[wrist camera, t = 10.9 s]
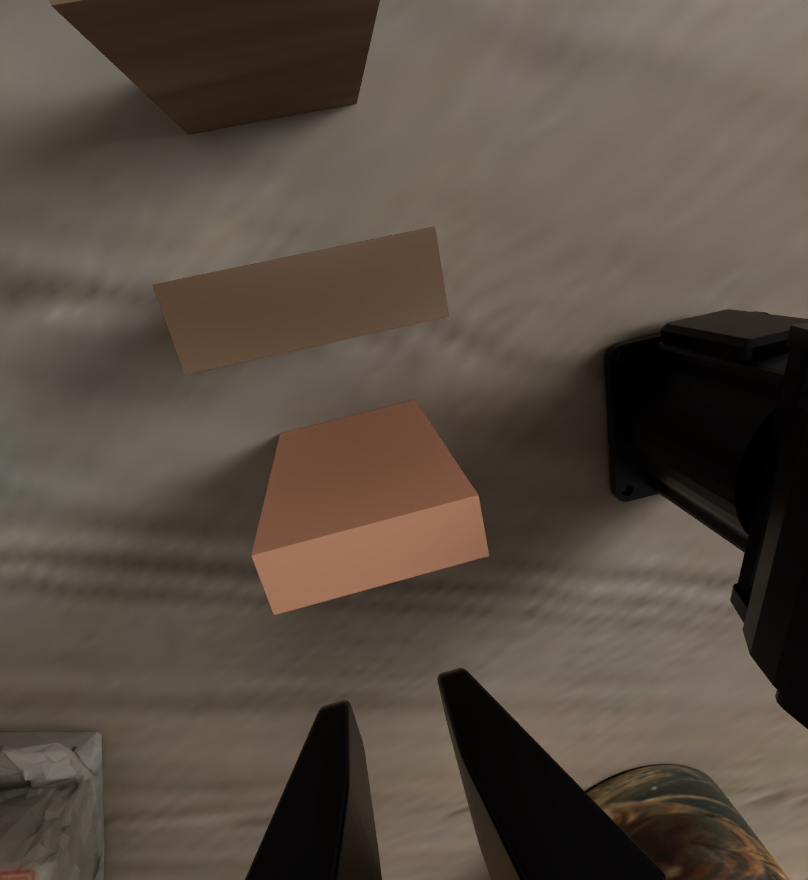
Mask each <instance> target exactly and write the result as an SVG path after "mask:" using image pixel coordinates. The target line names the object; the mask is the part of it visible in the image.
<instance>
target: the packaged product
mask: <svg viewBox="0 0 808 880" xmlns="http://www.w3.org/2000/svg"><path fill="white" fill-rule="evenodd" d="M102 798H103V765H102V735H101V734H100V733H98V732H94V731H41V732H4V731H0V880H104V849H105V837H104V811H103V801H102Z"/></svg>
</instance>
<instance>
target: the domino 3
mask: <svg viewBox="0 0 808 880" xmlns="http://www.w3.org/2000/svg"><path fill="white" fill-rule="evenodd" d="M251 556H252V559H253V561H254V564H255V567H256V569H257V572H258V575H259V577H260V580H261V582H262V585H263V588H264V590H265V593H266V596H267V598H268V601H269V603H270V606H271V609H272V611H273V614H274V615H277V614H280V613H284V612H288V611H291V610H295V609H299V608H302V607H306V606H310V605H313V604H317V603H320V602H324V601H328V600H331V599H335V598H339V597H342V596H346V595H349V594H353V593H357V592H360V591H364V590H368V589H371V588H375V587H378V586H382V585H386V584H389V583H393V582H397V581H400V580H404V579H408V578H411V577H415V576H418V575H422V574H426V573H429V572H433V571H437V570H440V569H444V568H447V567H451V566H455V565H458V564H462V563H466V562H469V561H473V560H476V559H480V558H484V557H487V556H489V552H488V546H487V540H486V535H485V529H484V523H483V518H482V512H481V506H480V501H479V495H478V494H477V492H476V491H475V489H474V488H473V486H472V485H471V483H470V482H469V480H468V479H467V477H466V476H465V474H464V473H463V471H462V470H461V468H460V467H459V465H458V464H457V462H456V461H455V459H454V458H453V456H452V455H451V453H450V452H449V450H448V449H447V447H446V446H445V444H444V443H443V441H442V440H441V438H440V437H439V435H438V434H437V432H436V431H435V429H434V428H433V426H432V425H431V423H430V422H429V420H428V419H427V417H426V416H425V414H424V413H423V411H422V410H421V408H420V407H419V405H418V404H417V402H416V401H415V400H412V401H408V402H404V403H400V404H396V405H392V406H388V407H384V408H380V409H376V410H372V411H368V412H364V413H360V414H356V415H352V416H348V417H344V418H340V419H336V420H332V421H328V422H324V423H320V424H316V425H312V426H308V427H304V428H300V429H296V430H292V431H288V432H284V433H280V436H279V441H278V445H277V449H276V453H275V457H274V462H273V466H272V470H271V474H270V479H269V483H268V487H267V491H266V495H265V500H264V504H263V508H262V512H261V517H260V521H259V525H258V529H257V533H256V538H255V542H254V546H253V550H252V555H251Z"/></svg>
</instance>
